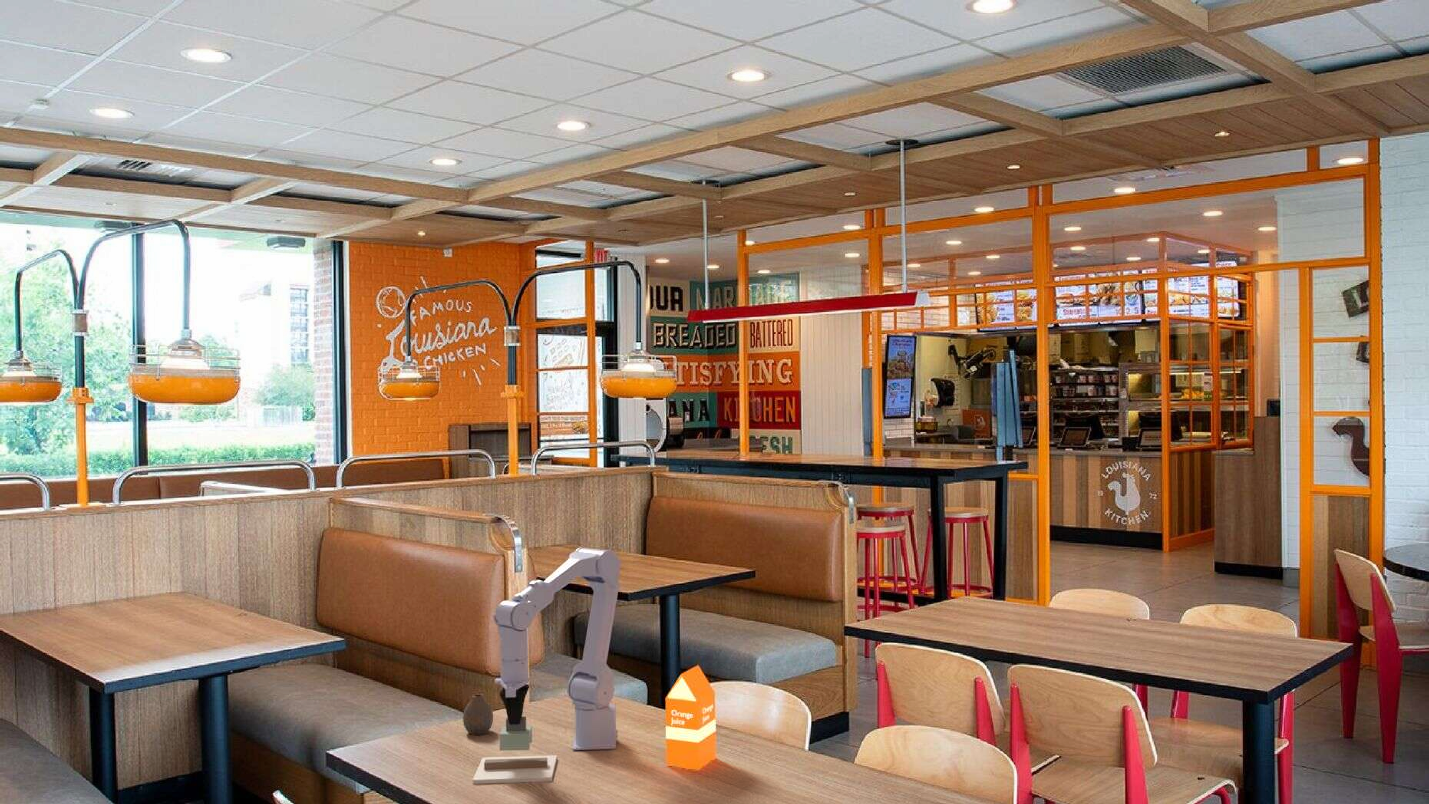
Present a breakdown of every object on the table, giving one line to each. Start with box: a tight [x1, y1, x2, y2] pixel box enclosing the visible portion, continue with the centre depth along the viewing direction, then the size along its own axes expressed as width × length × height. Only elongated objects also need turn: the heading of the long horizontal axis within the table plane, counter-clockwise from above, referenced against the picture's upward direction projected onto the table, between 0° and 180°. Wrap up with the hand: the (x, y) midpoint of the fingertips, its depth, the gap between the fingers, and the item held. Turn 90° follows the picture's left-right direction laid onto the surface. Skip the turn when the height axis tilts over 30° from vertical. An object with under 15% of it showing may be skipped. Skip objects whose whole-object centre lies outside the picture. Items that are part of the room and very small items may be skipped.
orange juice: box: [665, 665, 717, 771], centre depth 246 cm, size 8×9×20 cm
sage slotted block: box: [499, 716, 533, 751], centre depth 242 cm, size 6×6×6 cm
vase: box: [462, 693, 494, 736], centre depth 270 cm, size 7×7×9 cm
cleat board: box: [472, 754, 558, 785], centre depth 242 cm, size 16×14×2 cm
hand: (515, 722), depth 242 cm, fingers closed on sage slotted block, 2 cm apart
